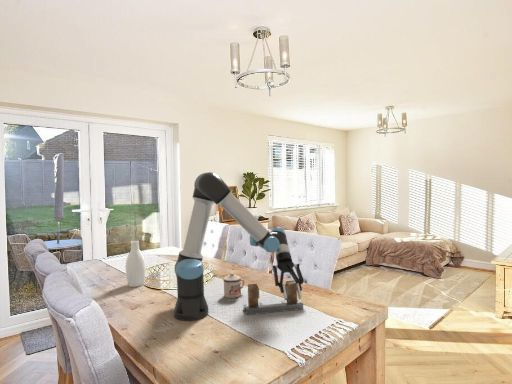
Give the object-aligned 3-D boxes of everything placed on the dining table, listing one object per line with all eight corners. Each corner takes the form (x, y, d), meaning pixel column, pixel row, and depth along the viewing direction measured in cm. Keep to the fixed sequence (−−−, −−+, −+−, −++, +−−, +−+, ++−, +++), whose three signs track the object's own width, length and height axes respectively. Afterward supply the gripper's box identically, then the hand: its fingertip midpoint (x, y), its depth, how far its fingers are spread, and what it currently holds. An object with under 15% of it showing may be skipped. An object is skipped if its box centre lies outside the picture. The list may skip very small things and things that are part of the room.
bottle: (147, 286, 192) (145, 242, 191) (126, 288, 188) (124, 243, 187) (145, 280, 202) (144, 239, 201) (126, 283, 198) (124, 240, 197)
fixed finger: (249, 311, 151) (249, 287, 151) (248, 307, 155) (247, 284, 155) (259, 310, 152) (259, 286, 152) (258, 306, 156) (257, 283, 156)
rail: (245, 314, 147) (245, 309, 147) (243, 308, 154) (243, 303, 154) (304, 309, 152) (304, 303, 152) (299, 303, 159) (299, 298, 159)
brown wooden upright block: (287, 307, 154) (286, 283, 154) (285, 304, 158) (284, 281, 158) (297, 306, 155) (296, 283, 155) (294, 303, 159) (293, 280, 159)
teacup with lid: (229, 299, 166) (229, 276, 166) (220, 295, 173) (219, 272, 173) (249, 294, 173) (248, 272, 173) (239, 290, 181) (239, 268, 180)
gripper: (299, 258, 173) (311, 300, 157) (263, 260, 170) (271, 303, 154) (302, 249, 168) (315, 292, 152) (265, 252, 164) (274, 296, 149)
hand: (293, 298), depth 153 cm, fingers open, 6 cm apart
